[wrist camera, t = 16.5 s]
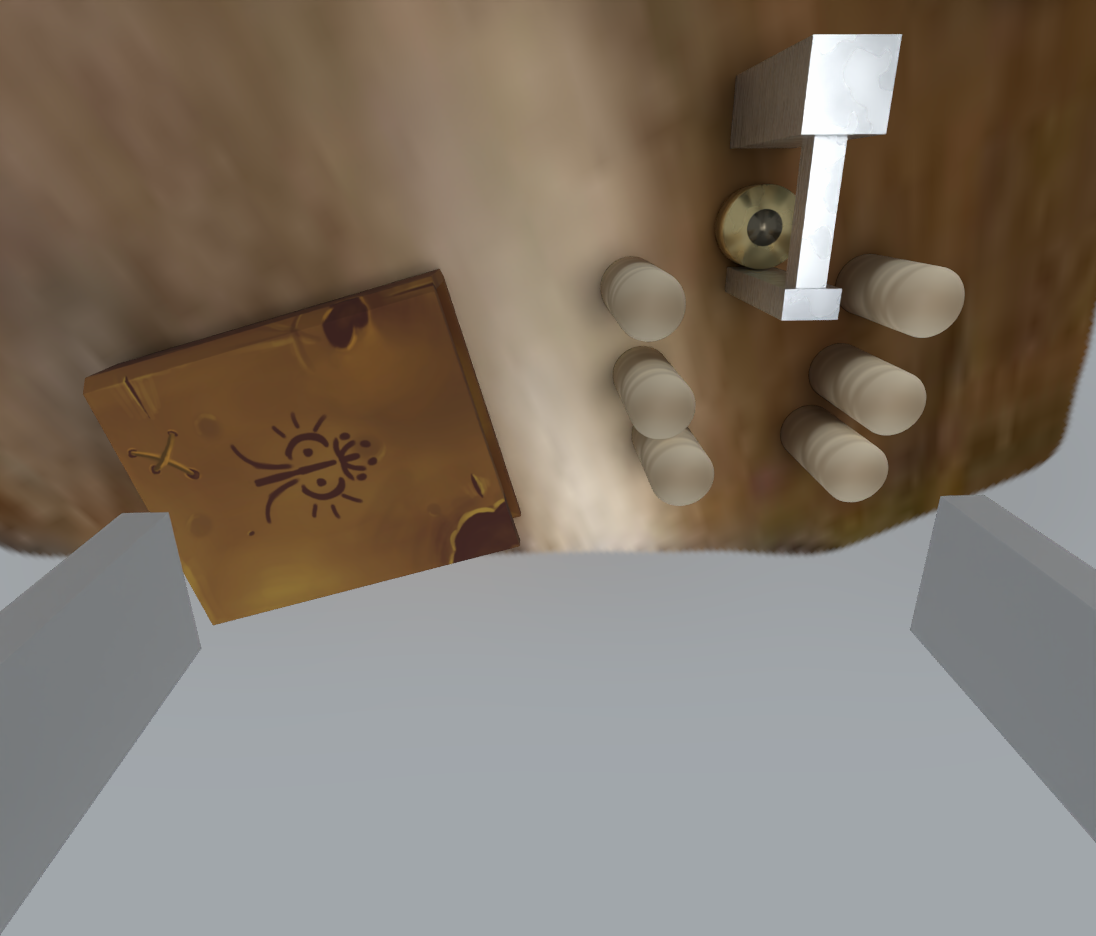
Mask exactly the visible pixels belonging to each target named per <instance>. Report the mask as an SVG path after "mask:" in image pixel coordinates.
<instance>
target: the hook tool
mask: <svg viewBox="0 0 1096 936" xmlns="http://www.w3.org/2000/svg"><path fill="white" fill-rule="evenodd" d="M901 37H902V34H861V35H812V36H810V37H808V38H806V39H804V40H802V41H800V42H798V43H797V44H795V45H793V46H791V47H789V48H787V49H785V50H783V51H782V52H780V53H778V54H776V55H774V56H772V57H770V58H769V59H767V60H765V61H763V62H761V63H759V64H757V65H755V66H754V67H752V68H750V69H748V70H746V71H744V72H742V73H740V74H739V75H737V76H736V83H735V95H734V106H733V118H732V130H731V142H730V148H797V147H802V148H801V156H800V164H799V173H798V181H797V189H796V197H795V206H794V214H793V222H792V231H791V239H790V247H789V255H788V264H787V271H784V270H781V269H778V268H774V267H771V268H767V269H753V268H749V267H727V275H726V287H725V292H727V293H729V294H731V295H733V296H735V297H737V298H739V299H741V300H743V301H745V302H746V303H748V304H750V305H752V306H754V307H756V308H758V309H760V310H762V311H764V312H766V313H768V314H770V315H772V316H774V317H776V318H778V319H780V320H838V313H839V307H840V300H841V293H842V289H841V288H838V287H835V286H832V285H829V284H826V283H827V276H828V269H829V262H830V255H831V248H832V241H833V234H834V227H835V220H836V213H837V206H838V199H839V192H840V185H841V178H842V171H843V164H844V157H845V150H846V143H847V140H850V139H856V138H863V137H869V136H876V135H882V134H886V130H887V124H888V118H889V111H890V105H891V99H892V93H893V87H894V81H895V74H896V68H897V62H898V56H899V50H900V43H901Z"/></svg>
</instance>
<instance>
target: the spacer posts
mask: <svg viewBox="0 0 1096 936" xmlns="http://www.w3.org/2000/svg"><path fill="white" fill-rule="evenodd" d="M836 287H838V288H841V289H842V293H841V300H840V305H841V306H842V308H843V309H845V310H846V311H848V312H850V313H853V314H855V315H858V316H861V317H863V318H866V319H868V320H871V321H874V322H876V323H879V324H882V325H884V326H887V327H889V328H892V329H895V330H897V331H900V332H903V333H905V334H908V335H911V336H913V337H919V338H924V337H931V336H934V335H937V334H939V333H941V332H942V331H944V330H945V329H947V328H948V327H949V326H950V325H951V324H952V323H953V322H954V321H955V320H956V318H957V317H958V315H959V313H960V312H961V309H962V307H963V303H964V294H965V293H964V287H963V283H962V281H961V279H960V278H959V276H958V275H957V274H956V273H955V272H953V271H952V270H950V269H948V268H945V267H940V266H935V265H929V264H924V263H919V262H913V261H908V260H903V259H897V258H892V257H886V256H881V255H876V254H864V255H861V256H858V257H856V258H854V259H852V260H851V261H850V262H848V263H847V264H846V265H845V266H844V268H843V269H842V270H841V272H840V274H839V276H838V278H837V281H836ZM601 296H602V299H603V301H604V303H605V305H606V307H607V308H608V309H609V311H610V312H611V314H612V315H613V317H614V318H615V319H616V321H617V322H618V324H619V325H620V327H621V328H622V329H623V330H624V332H625V333H627V334H628V335H629V336H631V337H632V338H634V339H636V340H640V341H646V342H651V341H657V340H660V339H663V338H665V337H667V336H668V335H670V334H671V333H672V332H673V331H674V330H675V329H676V328H677V327H678V326H679V324H680V323H681V321H682V319H683V316H684V313H685V307H686V300H685V294H684V291H683V289H682V287H681V285H680V284H679V282H678V281H677V280H676V279H675V278H674V277H673V276H671V275H670V274H668V273H666V272H665V271H663V270H661V269H660V268H658V267H656V266H655V265H653V264H651V263H649V262H648V261H646V260H644V259H642V258H639V257H624V258H621V259H619V260H617V261H615V262H614V263H613V264H611V265H610V266H609V267H608V269H607V270H606V272H605V273H604V275H603V278H602V281H601ZM613 381H614V385H615V387H616V389H617V391H618V394H619V396H620V398H621V400H622V402H623V404H624V407H625V409H626V411H627V413H628V415H629V417H630V420H631V422H632V424H633V425H634V426H633V429H632V442H633V445H634V447H635V450H636V452H637V454H638V457H639V459H640V461H641V464H642V466H643V468H644V471H645V473H646V475H647V478H648V480H649V482H650V485H651V487H652V489H653V491H654V493H655V494H656V496H657V497H658V498H659V499H661V500H662V501H663V502H665V503H668V504H671V505H676V506H683V505H688V504H692V503H694V502H696V501H698V500H699V499H701V498H702V497H703V496H704V495H705V494H706V493H707V492H708V491H709V489H710V487H711V485H712V483H713V479H714V468H713V465H712V462H711V460H710V459H709V457H708V456H707V454H706V453H705V451H704V450H703V449H702V447H701V446H700V444H699V443H698V441H697V440H696V438H695V437H694V435H693V434H692V433H691V431H690V430H689V428H688V427H687V426H688V425H689V424H690V422H691V420H692V418H693V416H694V413H695V398H694V394H693V392H692V390H691V389H690V387H689V386H688V385H687V384H686V382H685V381H684V380H683V379H682V378H681V376H680V375H679V374H678V373H677V372H676V370H675V369H674V368H673V367H672V366H671V364H670V363H669V362H668V361H667V360H666V358H665V357H664V356H663V355H662V354H661V353H660V352H659V351H657V350H656V349H654V348H651V347H646V346H640V347H635V348H632V349H630V350H628V351H626V352H625V353H623V354H622V355H621V356H620V357H619V359H618V360H617V362H616V364H615V366H614V370H613ZM809 381H810V384H811V386H812V388H813V390H814V391H815V392H816V393H817V394H819V395H820V396H822V397H823V398H824V399H826V400H827V401H829V402H830V403H832V404H833V405H835V406H836V407H837V408H839V409H840V410H842V411H843V412H845V413H846V414H847V415H849V416H850V417H852V418H853V419H855V420H856V421H857V422H859V423H860V424H862V425H863V426H865V427H866V428H867V429H869V430H870V431H872V432H874V433H876V434H880V435H893V434H897V433H900V432H902V431H904V430H906V429H908V428H909V427H910V426H912V425H913V424H914V423H915V422H916V421H917V420H918V418H919V417H920V416H921V414H922V412H923V410H924V407H925V403H926V391H925V388H924V386H923V384H922V382H921V381H920V380H919V379H918V378H917V377H916V376H914V375H912V374H910V373H908V372H906V371H904V370H902V369H900V368H898V367H896V366H894V365H892V364H890V363H887V362H885V361H883V360H881V359H879V358H877V357H875V356H873V355H871V354H869V353H867V352H864V351H862V350H860V349H858V348H856V347H854V346H852V345H849V344H844V343H840V344H834V345H831V346H828V347H826V348H825V349H823V350H822V351H821V352H820V353H818V354H817V356H816V357H815V358H814V360H813V362H812V364H811V366H810V370H809ZM780 437H781V442H782V445H783V446H784V448H785V449H786V450H787V451H788V452H789V453H790V454H791V455H792V456H793V457H794V458H795V459H796V460H797V461H798V462H799V463H800V464H801V465H802V466H803V467H804V468H805V469H806V470H807V471H808V472H809V473H810V474H811V475H812V476H813V477H814V478H815V479H816V480H817V481H818V482H819V483H820V484H821V485H822V486H823V487H824V488H825V489H826V490H827V491H828V492H829V493H830V494H831V495H832V496H833V497H835V498H836V499H838V500H841V501H844V502H857V501H861V500H864V499H866V498H868V497H870V496H872V495H873V494H874V493H875V492H877V491H878V490H879V489H880V487H881V486H882V485H883V483H884V481H885V479H886V477H887V473H888V462H887V459H886V456H885V455H884V453H883V452H882V451H881V450H880V449H879V448H877V447H876V446H875V445H873V444H872V443H871V442H869V441H868V440H867V439H865V438H864V437H862V436H861V435H860V434H858V433H857V432H856V431H854V430H853V429H851V428H850V427H849V426H847V425H846V424H845V423H843V422H842V421H841V420H839V419H838V418H836V417H835V416H834V415H832V414H831V413H830V412H828V411H827V410H825V409H824V408H822V407H819V406H814V405H810V406H804V407H801V408H799V409H797V410H795V411H793V412H792V413H791V414H790V415H789V416H788V417H787V418H786V420H785V421H784V423H783V425H782V428H781V433H780Z"/></svg>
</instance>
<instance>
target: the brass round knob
mask: <svg viewBox="0 0 1096 936" xmlns="http://www.w3.org/2000/svg"><path fill="white" fill-rule="evenodd" d="M795 197H796V196H795V195H794V194H793V193H792V192H791V191H789V190H788V189H786V188H784V187H782V186H778V185H772V184H765V185H750V186H746V187H743V188H741V189H739V190H737V191H736V192H734V193H733V194H732V195H730V196H729V197H728V198H727V199H726V201H725V202H724V203H723V205H722V206H721V208H720V210H719V212H718V214H717V217H716V222H715V238H716V242H717V245H718V247H719V249H720V250H721V252H722V253H723V254H724V255H725V257H727V258H728V259H729V260H731V261H732V262H734V263H737V264H740V265H743V266H746V267H749V268H753V269H767V268H771V267H774V266H776V265H778V264H780V263H782V262H783V261H785V260H786V259H787V258H788V255H789V247H790V239H791V231H792V222H793V214H794V206H795Z"/></svg>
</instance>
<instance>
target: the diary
mask: <svg viewBox="0 0 1096 936" xmlns="http://www.w3.org/2000/svg"><path fill="white" fill-rule="evenodd" d="M83 395H84V397H85V398H86V400H87V402H88V404H89V405H90V407H91V409H92V411H93V413H94V414H95V416H96V418H97V420H98V421H99V423H100V425H101V427H102V429H103V430H104V432H105V434H106V436H107V438H108V439H109V441H110V443H111V445H112V446H113V448H114V450H115V452H116V454H117V455H118V457H119V459H120V461H121V462H122V464H123V466H124V468H125V470H126V471H127V473H128V475H129V477H130V478H131V480H132V482H133V484H134V486H135V487H136V489H137V491H138V493H139V494H140V496H141V498H142V500H143V502H144V503H145V505H146V507H147V509H148V510H149V512H150V513H157V512H169V516H170V520H171V524H172V529H173V533H174V537H175V541H176V545H177V549H178V554H179V558H180V562H181V566H182V570H183V573H184V574H185V576H186V578H187V580H188V582H189V583H190V585H191V587H192V589H193V591H194V592H195V594H196V596H197V598H198V599H199V601H200V603H201V605H202V607H203V608H204V610H205V612H206V614H207V615H208V617H209V619H210V621H211V623H212V624H213V625H216V624H220V623H224V622H228V621H231V620H236V619H239V618H243V617H247V616H251V615H255V614H259V613H262V612H267V611H270V610H274V609H278V608H282V607H286V606H290V605H294V604H297V603H301V602H305V601H309V600H313V599H317V598H321V597H325V596H328V595H332V594H336V593H340V592H344V591H348V590H352V589H355V588H359V587H363V586H367V585H371V584H375V583H379V582H382V581H386V580H390V579H394V578H398V577H402V576H406V575H409V574H414V573H417V572H421V571H425V570H429V569H433V568H437V567H441V566H444V565H449V564H452V563H456V562H460V561H464V560H468V559H472V558H476V557H480V556H483V555H487V554H491V553H495V552H499V551H503V550H507V549H511V548H514V547H518V546H520V538H519V535H518V532H517V529H516V526H515V523H514V521H513V518H515V517H519V516H521V511H520V508H519V505H518V502H517V499H516V496H515V493H514V490H513V487H512V484H511V481H510V478H509V475H508V472H507V469H506V466H505V462H504V459H503V456H502V453H501V450H500V447H499V444H498V441H497V438H496V435H495V432H494V429H493V426H492V423H491V420H490V417H489V414H488V411H487V408H486V404H485V401H484V398H483V395H482V392H481V389H480V386H479V383H478V380H477V377H476V374H475V371H474V368H473V365H472V362H471V359H470V356H469V353H468V350H467V347H466V343H465V340H464V337H463V334H462V331H461V328H460V325H459V322H458V319H457V316H456V313H455V310H454V307H453V304H452V301H451V298H450V295H449V292H448V289H447V285H446V282H445V279H444V277H443V275H442V273H441V271H440V269H437V270H434V271H431V272H427V273H424V274H420V275H417V276H414V277H410V278H407V279H404V280H400V281H397V282H393V283H390V284H387V285H383V286H380V287H376V288H373V289H370V290H366V291H363V292H360V293H356V294H353V295H349V296H346V297H343V298H339V299H336V300H332V301H329V302H326V303H322V304H319V305H316V306H312V307H309V308H305V309H302V310H299V311H295V312H292V313H288V314H285V315H282V316H278V317H275V318H272V319H268V320H265V321H261V322H258V323H255V324H251V325H248V326H244V327H241V328H238V329H234V330H231V331H228V332H224V333H221V334H217V335H214V336H211V337H207V338H204V339H200V340H197V341H194V342H190V343H187V344H184V345H180V346H177V347H173V348H170V349H167V350H163V351H160V352H156V353H153V354H150V355H146V356H143V357H140V358H136V359H133V360H129V361H126V362H123V363H119V364H117V365H114V366H112V367H110V368H107V369H105V370H103V371H100V372H98V373H96V374H93V375H91V376H89V377H86V378H85V383H84V391H83Z"/></svg>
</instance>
